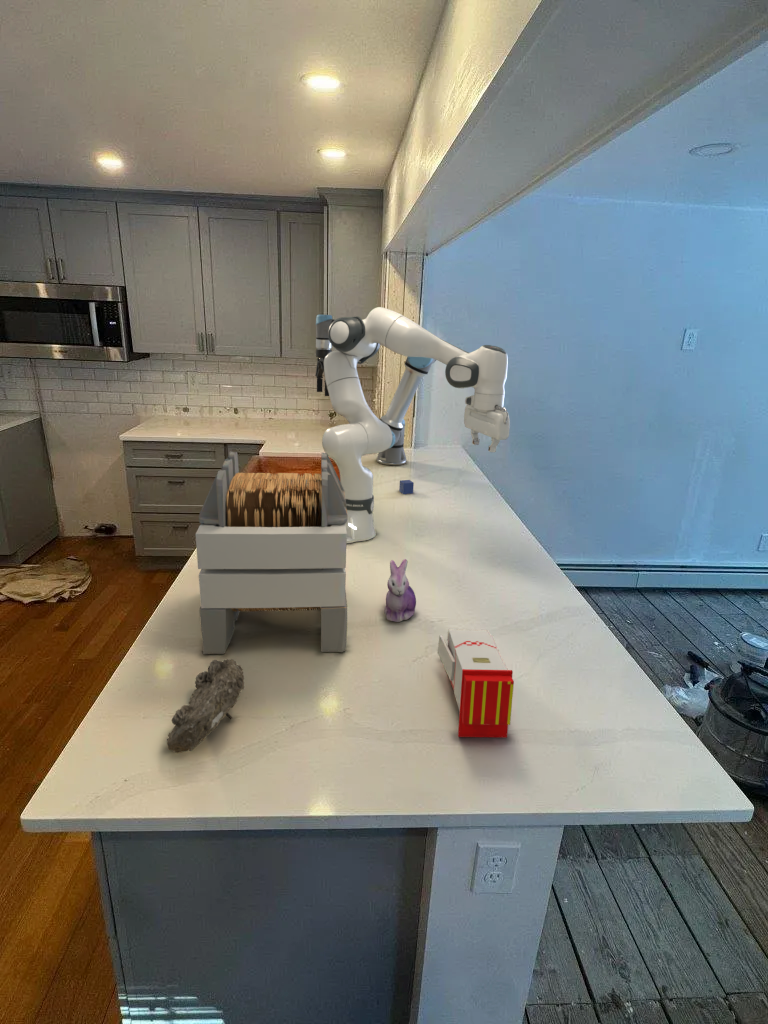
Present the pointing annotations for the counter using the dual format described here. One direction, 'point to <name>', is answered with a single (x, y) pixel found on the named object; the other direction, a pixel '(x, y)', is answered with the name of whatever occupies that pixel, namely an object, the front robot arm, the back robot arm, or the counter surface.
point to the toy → (478, 682)
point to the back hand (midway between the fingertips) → (323, 394)
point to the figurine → (399, 594)
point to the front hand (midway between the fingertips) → (483, 448)
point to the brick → (406, 487)
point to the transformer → (272, 550)
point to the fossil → (206, 705)
